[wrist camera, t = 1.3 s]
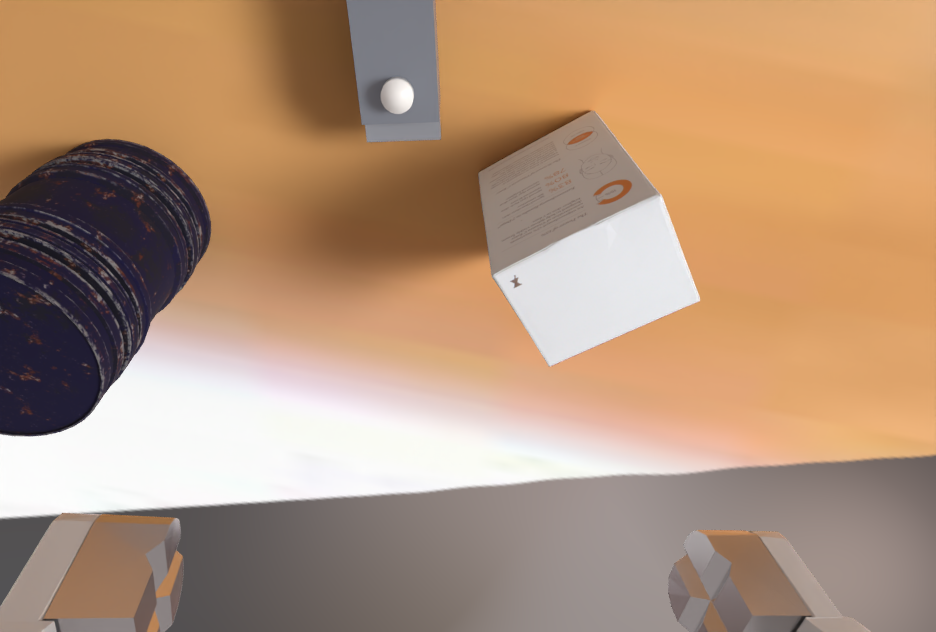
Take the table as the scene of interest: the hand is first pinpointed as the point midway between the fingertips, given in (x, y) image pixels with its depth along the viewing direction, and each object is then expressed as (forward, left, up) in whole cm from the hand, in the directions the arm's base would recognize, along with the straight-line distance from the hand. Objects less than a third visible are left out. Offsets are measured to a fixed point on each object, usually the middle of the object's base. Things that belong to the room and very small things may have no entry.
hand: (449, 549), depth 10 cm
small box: (-7, +6, -31) cm, 32 cm away
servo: (+2, -3, -31) cm, 31 cm away
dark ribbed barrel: (+20, +7, -31) cm, 37 cm away
